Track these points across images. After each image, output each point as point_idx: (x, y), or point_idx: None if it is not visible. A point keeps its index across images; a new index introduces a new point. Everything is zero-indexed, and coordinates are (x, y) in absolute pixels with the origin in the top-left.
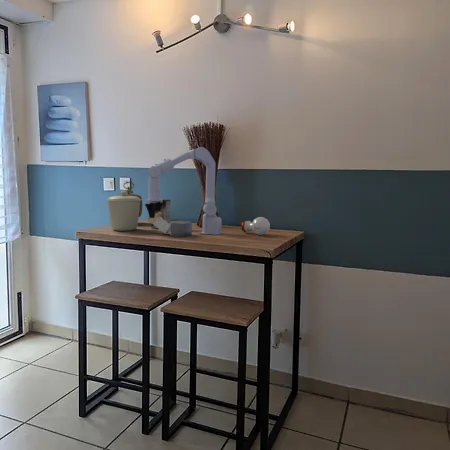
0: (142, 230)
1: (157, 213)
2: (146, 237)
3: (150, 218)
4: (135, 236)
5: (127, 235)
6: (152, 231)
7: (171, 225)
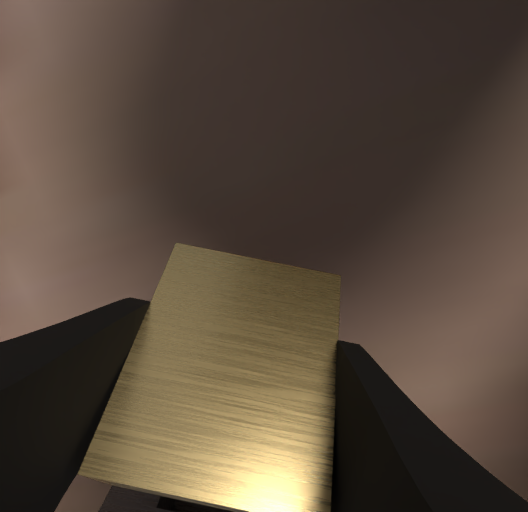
0: (497, 32)
1: (127, 487)
2: (6, 257)
3: (156, 299)
4: (10, 135)
5: (30, 15)
6: (415, 193)
7: (101, 510)
